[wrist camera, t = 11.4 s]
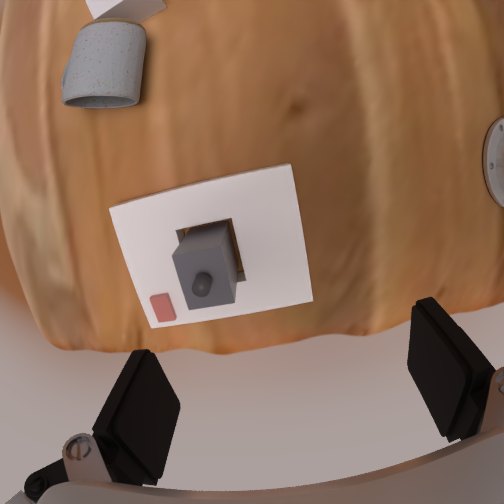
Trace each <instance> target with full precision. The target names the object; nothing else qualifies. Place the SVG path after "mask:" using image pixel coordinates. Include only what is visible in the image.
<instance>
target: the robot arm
mask: <svg viewBox="0 0 504 504" xmlns="http://www.w3.org/2000/svg"><path fill="white" fill-rule="evenodd" d="M483 168H484V175H485V180H486V184H487V187H488V189H489V192H490V194H491V196H492V197H493V199H494V200H495V201H496V203H497V204H498V205H500V206H501V207H503V208H504V117H502V118H499V119H498V120H496V121H495V122H494V123H493V125H492V126H491V127H490V129H489V131H488V134H487V137H486V140H485V145H484V152H483ZM407 365H408V370H409V372H410V374H411V376H412V378H413V380H414V381H415V383H416V385H417V387H418V389H419V391H420V393H421V395H422V397H423V399H424V401H425V403H426V405H427V407H428V409H429V411H430V413H431V415H432V417H433V419H434V422H435V424H436V426H437V428H438V430H439V432H440V434H441V436H442V437H445V436H446V437H447V440H448V442H449V443H450V442H452V441H454V440H457V439H459V438H460V439H461V441H459V442H457V443H455V444H452V445H450V446H447V447H445V448H442V449H440V450H437V451H435V452H432V453H430V454H427V455H424V456H421V457H418V458H415V459H412V460H409V461H406V462H403V463H400V464H397V465H394V466H390V467H387V468H384V469H380V470H376V471H373V472H369V473H365V474H361V475H357V476H352V477H348V478H343V479H338V480H333V481H328V482H322V483H316V484H310V485H303V486H296V487H287V488H277V489H266V490H249V491H191V490H175V489H164V488H153V487H143V486H142V485H143V484H146V485H154V486H156V485H157V482H158V479H160V478H161V477H162V475H163V472H164V467H165V464H166V460H167V456H168V453H169V449H170V445H171V441H172V437H173V434H174V430H175V426H176V423H177V419H178V415H179V411H180V402H179V399H178V398H177V396H176V394H175V393H174V390H173V388H172V386H171V385H170V383H169V381H168V379H167V377H166V375H165V373H164V371H163V370H162V367H161V365H160V363H159V361H158V360H157V357H156V355H155V354H154V353H151V352H150V350H148V349H143V350H134V351H133V352H132V353H131V355H130V357H129V359H128V360H127V362H126V364H125V366H124V368H123V370H122V372H121V374H120V375H119V377H118V379H117V381H116V383H115V385H114V387H113V388H112V390H111V392H110V394H109V396H108V398H107V400H106V402H105V404H104V406H103V408H102V410H101V412H100V414H99V416H98V418H97V420H96V422H95V424H94V426H93V428H92V430H93V431H94V433H93V435H92V436H91V435H90V434H86V433H80V434H77V435H74V436H73V437H71V438H70V439H69V440H68V441H67V442H66V443H65V445H64V446H63V450H62V456H63V458H62V459H60V460H58V461H56V462H54V463H52V464H50V465H48V466H46V467H44V468H42V469H40V470H38V471H36V472H34V473H33V474H31V475H30V476H29V477H28V478H27V480H26V482H25V485H24V490H25V492H23V491H19V492H18V493H17V494H16V495H15V496H14V497H12V498H11V499H10V500H9V501H8V502H6V503H5V504H504V367H501V368H500V369H498V370H495V368H494V367H493V366H492V365H491V363H490V362H489V361H488V360H487V359H486V357H485V356H484V355H483V353H482V352H481V351H480V350H479V348H478V347H477V346H476V345H475V344H474V342H473V341H472V340H471V339H470V338H469V336H468V335H467V334H466V333H465V332H464V331H463V329H462V328H461V327H459V326H458V325H457V324H456V323H455V322H454V320H453V319H452V318H451V317H450V316H449V315H448V314H447V312H446V311H445V310H444V309H443V308H442V307H441V306H440V305H439V304H438V303H437V301H436V300H435V299H434V298H433V297H428V298H424V299H421V300H418V301H416V305H414V306H413V307H412V313H411V329H410V341H409V351H408V360H407Z"/></svg>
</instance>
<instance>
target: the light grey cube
mask: <svg viewBox="0 0 504 504" xmlns="http://www.w3.org/2000/svg"><path fill="white" fill-rule="evenodd" d="M85 1H86V3H87V5H88V7H89V9H90V12H91V14H92V16H93V18H94V20H98V19H103V18H124V19H129V20H132V21H135V22H137V23H138V24H139V23H141V22H142V21H144V20H146V19H148V18H149V17H151V16H153V15H154V14H156V13H158V12H160V11H162V10H164V9H165V8H167V7H166V5H165V3H164V2H163V0H85Z"/></svg>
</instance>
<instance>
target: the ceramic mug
mask: <svg viewBox="0 0 504 504" xmlns="http://www.w3.org/2000/svg"><path fill="white" fill-rule="evenodd" d="M145 49H146V32H145V29H144V28H143V27H142V26H141V25H140V24H138V23H137V22H135V21H132V20H129V19H124V18H103V19H98V20H95V21H92V22H90V23H88V24H86V25H85V26H84V27H82V29H81V30H80V31H79V33H78V35H77V37H76V40H75V42H74V45H73V49H72V53H71V57H70V59H69V61H68V63H67V65H66V67H65V69H64V73H63V77H62V93H63V95H62V103H63V104H64V105H66V106H70V107H79V108H118V107H127V106H132V105H135V104H137V103H138V102H139V100H140V88H141V80H142V71H143V62H144V55H145Z"/></svg>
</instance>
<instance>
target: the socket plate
mask: <svg viewBox="0 0 504 504" xmlns="http://www.w3.org/2000/svg"><path fill="white" fill-rule="evenodd" d="M109 211H110V214H111V217H112V221H113V224H114V227H115V231H116V234H117V237H118V240H119V243H120V246H121V249H122V252H123V255H124V258H125V261H126V264H127V267H128V270H129V272H130V275H131V278H132V281H133V283H134V286H135V289H136V291H137V294H138V296H139V299H140V302H141V304H142V307H143V309H144V312H145V314H146V316H147V319H148V321H149V324H150V326H151V328H158V327H166V326H173V325H180V324H187V323H194V322H200V321H207V320H213V319H219V318H225V317H231V316H237V315H243V314H249V313H254V312H260V311H265V310H271V309H276V308H281V307H286V306H291V305H296V304H301V303H306V302H311V301H313V296H312V289H311V282H310V275H309V268H308V261H307V255H306V248H305V242H304V236H303V230H302V223H301V218H300V212H299V206H298V200H297V195H296V189H295V184H294V178H293V173H292V168H291V164H289V163H285V164H280V165H274V166H269V167H264V168H259V169H254V170H249V171H244V172H240V173H235V174H230V175H226V176H221V177H217V178H213V179H208V180H204V181H200V182H196V183H192V184H188V185H184V186H180V187H176V188H172V189H168V190H164V191H161V192H157V193H153V194H150V195H146V196H142V197H139V198H135V199H132V200H129V201H125V202H122V203H118V204H116V205H114V206H112V207H110V208H109ZM228 218H232V222H233V226H234V231H235V235H236V239H237V243H238V248H239V252H240V256H241V260H242V264H243V269H244V272H240V273H238V276H237V287H236V297H235V303H232V304H226V305H220V306H214V307H207V308H201V309H194V310H188V307H187V304H186V301H185V297H184V294H183V291H182V288H181V285H180V282H179V279H178V275H177V272H176V269H175V265H174V262H173V259H172V254H173V253H174V251H175V250H176V248H177V247H178V245H179V244H180V243H181V241H182V240H183V238H184V233H183V230H182V229H183V228H187V227H191V226H196V225H201V224H205V223H210V222H214V221H219V220H224V219H228Z"/></svg>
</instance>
